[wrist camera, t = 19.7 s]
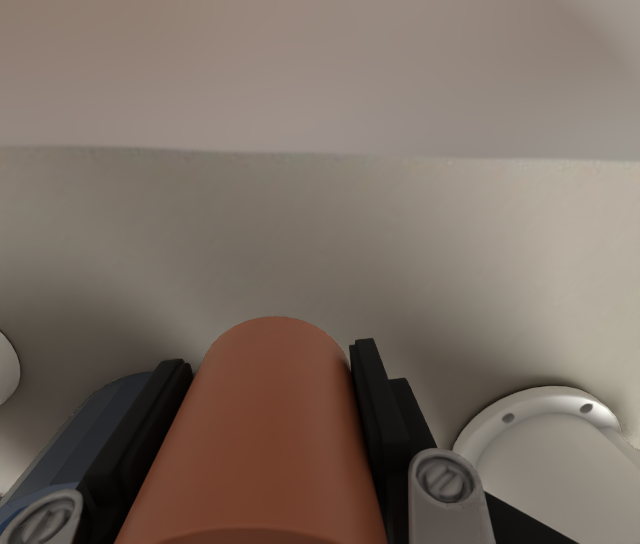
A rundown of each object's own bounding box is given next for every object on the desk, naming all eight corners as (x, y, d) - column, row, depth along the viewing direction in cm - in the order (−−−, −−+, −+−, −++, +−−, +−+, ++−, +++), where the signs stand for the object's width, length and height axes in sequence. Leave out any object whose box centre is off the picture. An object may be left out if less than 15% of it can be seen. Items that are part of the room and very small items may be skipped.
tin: (260, 358, 22) (242, 460, 15) (288, 509, 27) (285, 639, 20) (34, 385, 21) (-95, 503, 14) (106, 533, 26) (37, 674, 19)
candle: (345, 307, 10) (399, 507, 4) (355, 433, 12) (404, 697, 6) (184, 324, 10) (29, 548, 4) (216, 448, 12) (134, 729, 6)
